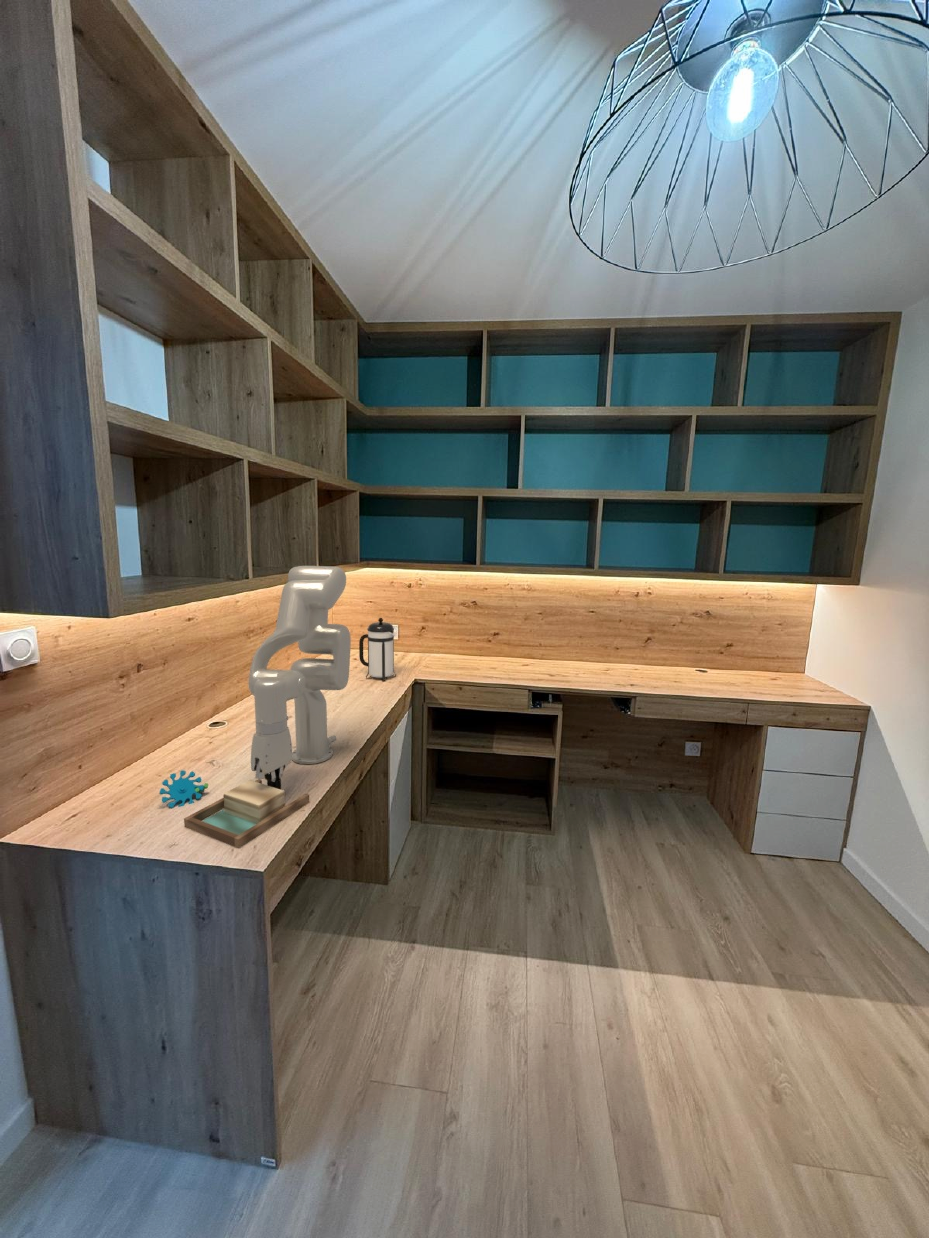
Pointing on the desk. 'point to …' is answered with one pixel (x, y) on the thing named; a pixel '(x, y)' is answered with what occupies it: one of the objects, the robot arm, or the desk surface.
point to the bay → (236, 822)
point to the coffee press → (379, 650)
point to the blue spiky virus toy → (182, 789)
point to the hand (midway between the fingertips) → (274, 792)
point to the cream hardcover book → (253, 801)
